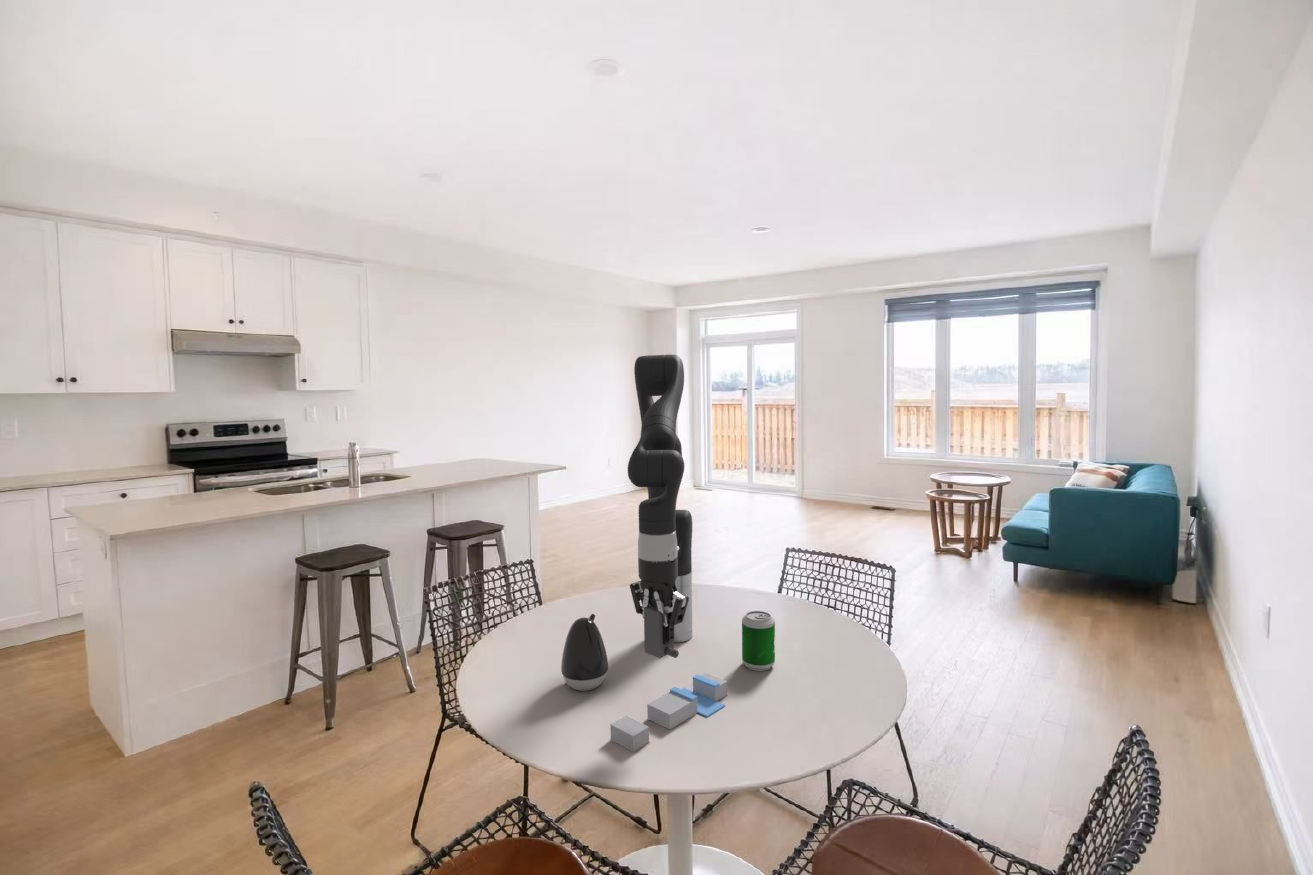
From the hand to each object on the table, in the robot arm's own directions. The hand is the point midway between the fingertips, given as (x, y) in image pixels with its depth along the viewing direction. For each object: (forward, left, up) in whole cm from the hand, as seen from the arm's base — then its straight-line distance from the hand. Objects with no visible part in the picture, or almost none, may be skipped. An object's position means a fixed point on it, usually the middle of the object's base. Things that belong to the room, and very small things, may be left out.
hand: (659, 639), depth 126 cm
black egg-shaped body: (-22, 0, -17) cm, 28 cm away
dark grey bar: (+1, 0, -3) cm, 3 cm away
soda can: (+1, +33, -17) cm, 37 cm away
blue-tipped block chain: (+1, +3, -17) cm, 17 cm away
